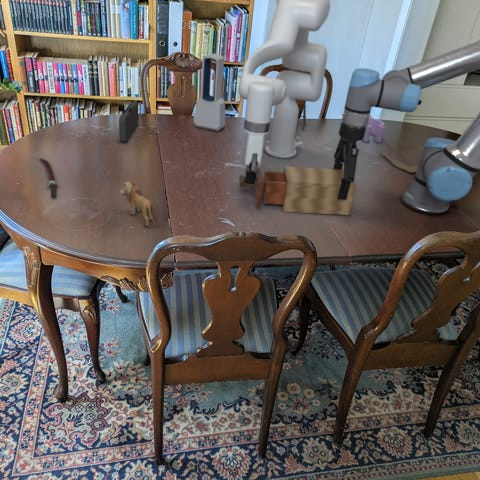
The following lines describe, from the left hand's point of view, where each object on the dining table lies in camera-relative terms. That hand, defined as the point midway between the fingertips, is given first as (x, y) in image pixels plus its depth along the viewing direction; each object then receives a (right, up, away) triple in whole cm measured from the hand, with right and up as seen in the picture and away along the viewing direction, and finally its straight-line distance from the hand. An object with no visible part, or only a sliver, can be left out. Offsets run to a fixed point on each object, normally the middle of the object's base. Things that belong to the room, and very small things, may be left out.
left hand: (249, 182), depth 147 cm
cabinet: (+21, -6, +6) cm, 23 cm away
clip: (+54, +31, +69) cm, 93 cm away
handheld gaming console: (-48, +25, +44) cm, 70 cm away
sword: (-66, +2, +5) cm, 66 cm away
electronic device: (-17, +31, +58) cm, 68 cm away
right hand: (+28, -2, +3) cm, 29 cm away
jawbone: (+63, +13, +43) cm, 78 cm away
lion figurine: (-33, -11, -10) cm, 36 cm away
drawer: (+9, -5, +4) cm, 11 cm away
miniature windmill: (+23, +35, +70) cm, 82 cm away
